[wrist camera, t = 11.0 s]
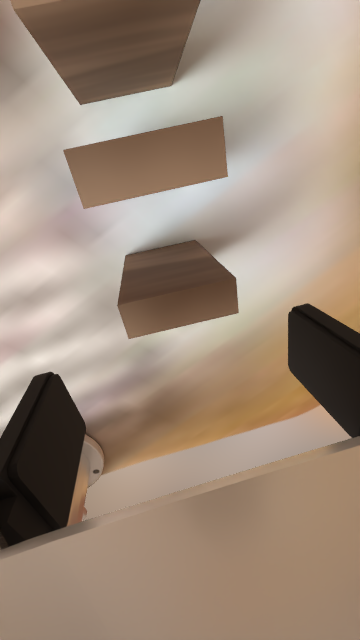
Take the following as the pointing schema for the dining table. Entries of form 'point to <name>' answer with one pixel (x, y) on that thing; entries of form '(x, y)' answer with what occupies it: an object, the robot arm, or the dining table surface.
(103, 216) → the dining table surface
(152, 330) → the domino
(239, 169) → the dining table surface
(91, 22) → the domino
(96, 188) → the domino
